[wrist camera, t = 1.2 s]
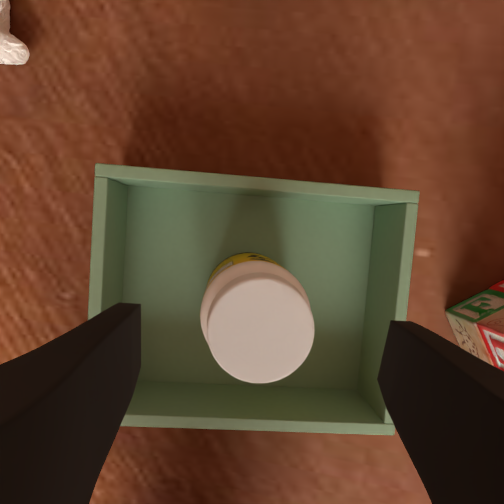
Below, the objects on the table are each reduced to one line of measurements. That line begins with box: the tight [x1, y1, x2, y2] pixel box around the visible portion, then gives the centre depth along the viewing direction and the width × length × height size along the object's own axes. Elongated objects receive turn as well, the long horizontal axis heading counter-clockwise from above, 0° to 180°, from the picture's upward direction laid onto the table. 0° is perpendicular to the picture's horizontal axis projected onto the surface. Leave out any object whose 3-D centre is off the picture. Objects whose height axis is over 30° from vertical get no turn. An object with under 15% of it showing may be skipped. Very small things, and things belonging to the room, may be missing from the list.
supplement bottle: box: [200, 252, 315, 383], centre depth 18 cm, size 5×5×8 cm
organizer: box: [88, 163, 420, 435], centre depth 21 cm, size 12×15×4 cm
